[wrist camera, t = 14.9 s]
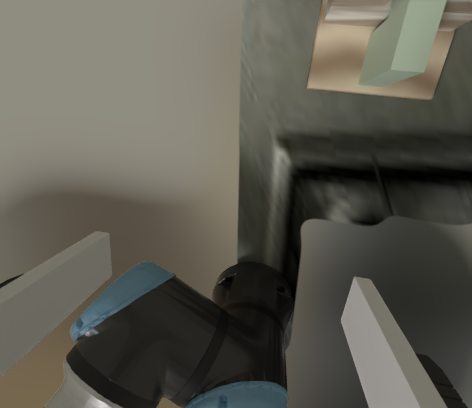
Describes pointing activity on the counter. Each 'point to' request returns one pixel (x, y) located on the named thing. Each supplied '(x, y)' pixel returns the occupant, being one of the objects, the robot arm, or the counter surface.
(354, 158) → the counter surface
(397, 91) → the slotted base
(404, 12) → the sage slotted plate
